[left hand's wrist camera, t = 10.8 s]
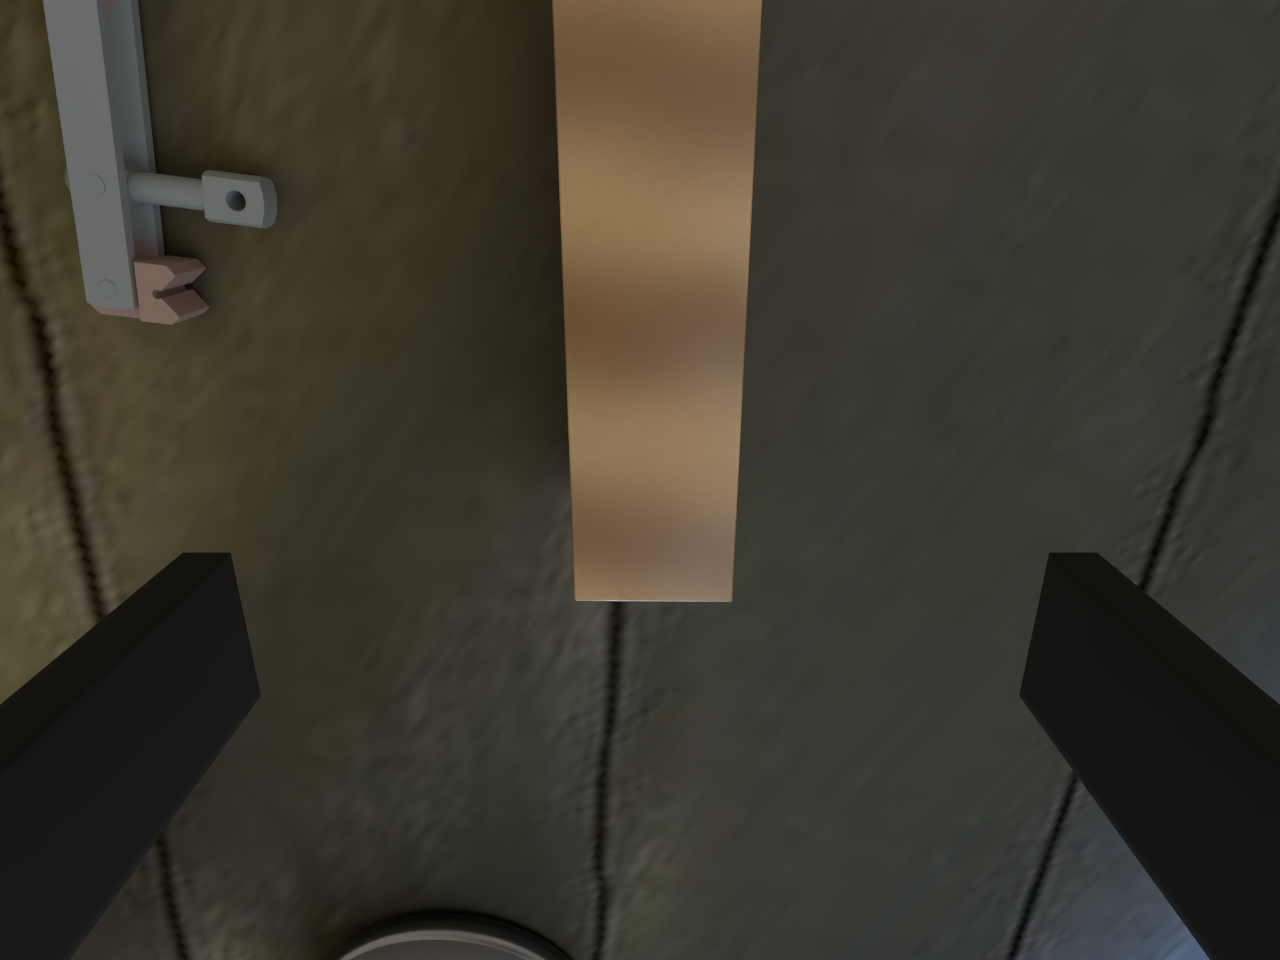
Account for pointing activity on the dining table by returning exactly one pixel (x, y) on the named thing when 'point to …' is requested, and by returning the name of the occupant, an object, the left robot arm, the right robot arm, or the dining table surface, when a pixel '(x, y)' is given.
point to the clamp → (130, 168)
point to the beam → (655, 286)
